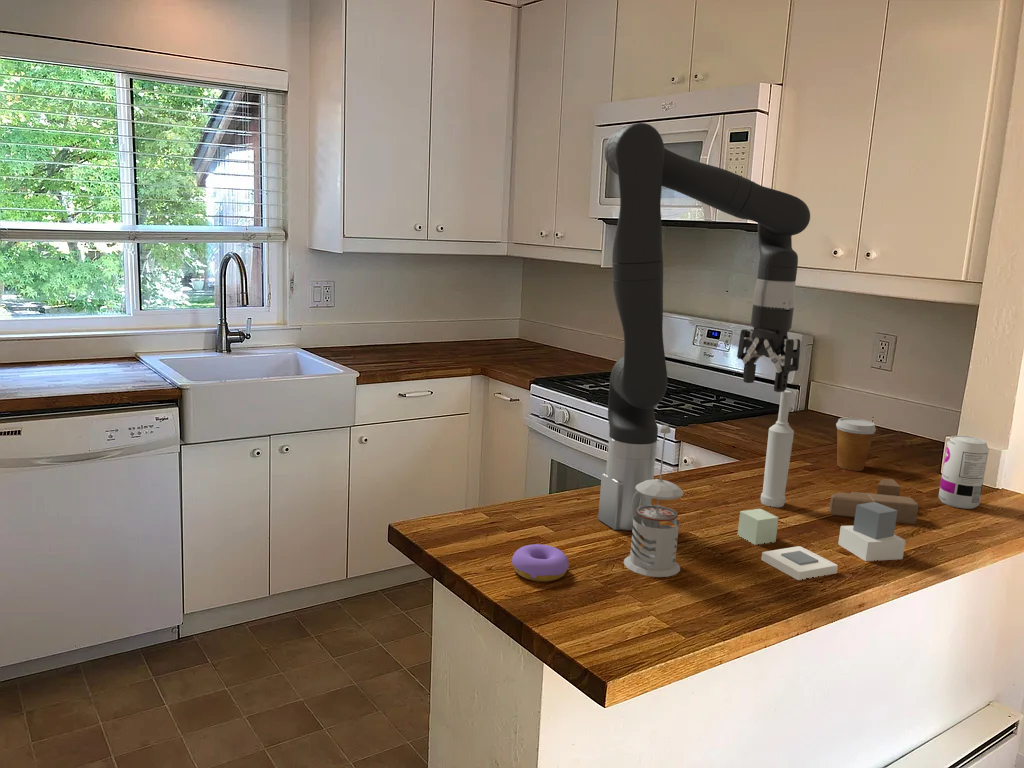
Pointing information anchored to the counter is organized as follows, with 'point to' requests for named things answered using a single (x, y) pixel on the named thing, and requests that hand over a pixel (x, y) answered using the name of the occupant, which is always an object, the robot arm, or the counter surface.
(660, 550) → the french press
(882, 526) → the slate cube
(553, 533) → the counter surface
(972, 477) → the supplement can
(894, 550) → the base block
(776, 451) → the bottle
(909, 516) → the wooden block set
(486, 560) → the counter surface
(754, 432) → the counter surface
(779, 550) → the plate
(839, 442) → the disposable coffee cup
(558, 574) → the donut
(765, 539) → the sage cube
